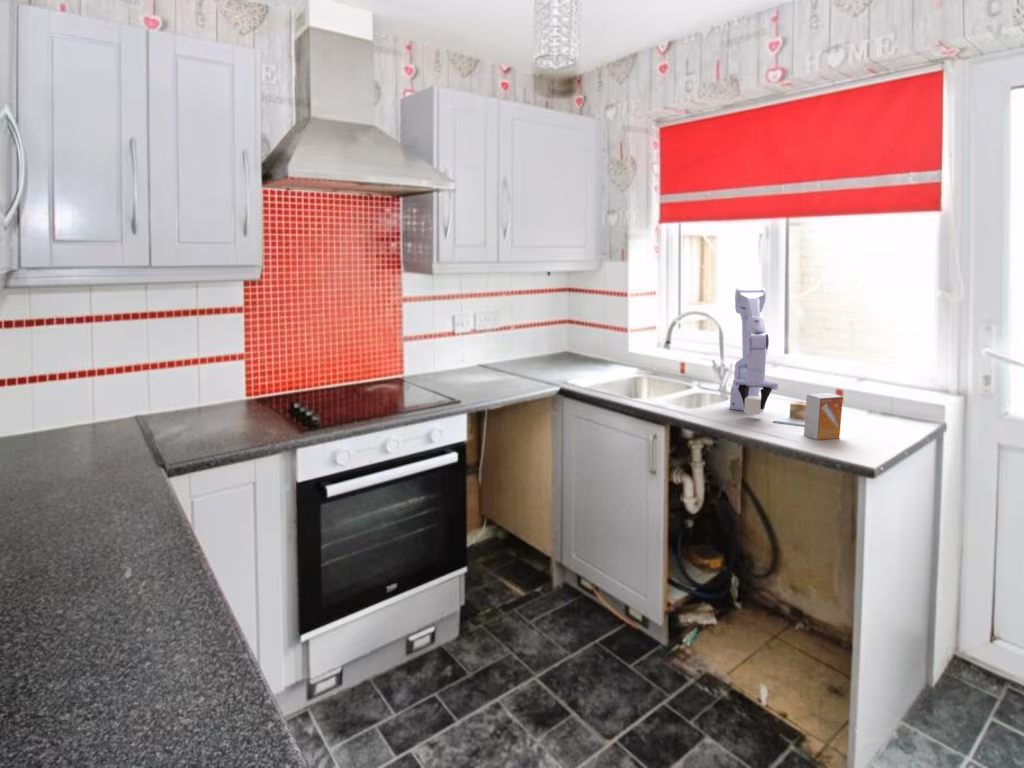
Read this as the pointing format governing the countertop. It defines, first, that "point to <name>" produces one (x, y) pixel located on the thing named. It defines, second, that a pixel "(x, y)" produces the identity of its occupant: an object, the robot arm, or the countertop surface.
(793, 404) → the base cube
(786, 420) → the board
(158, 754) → the countertop surface
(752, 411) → the top cube
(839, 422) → the small box
